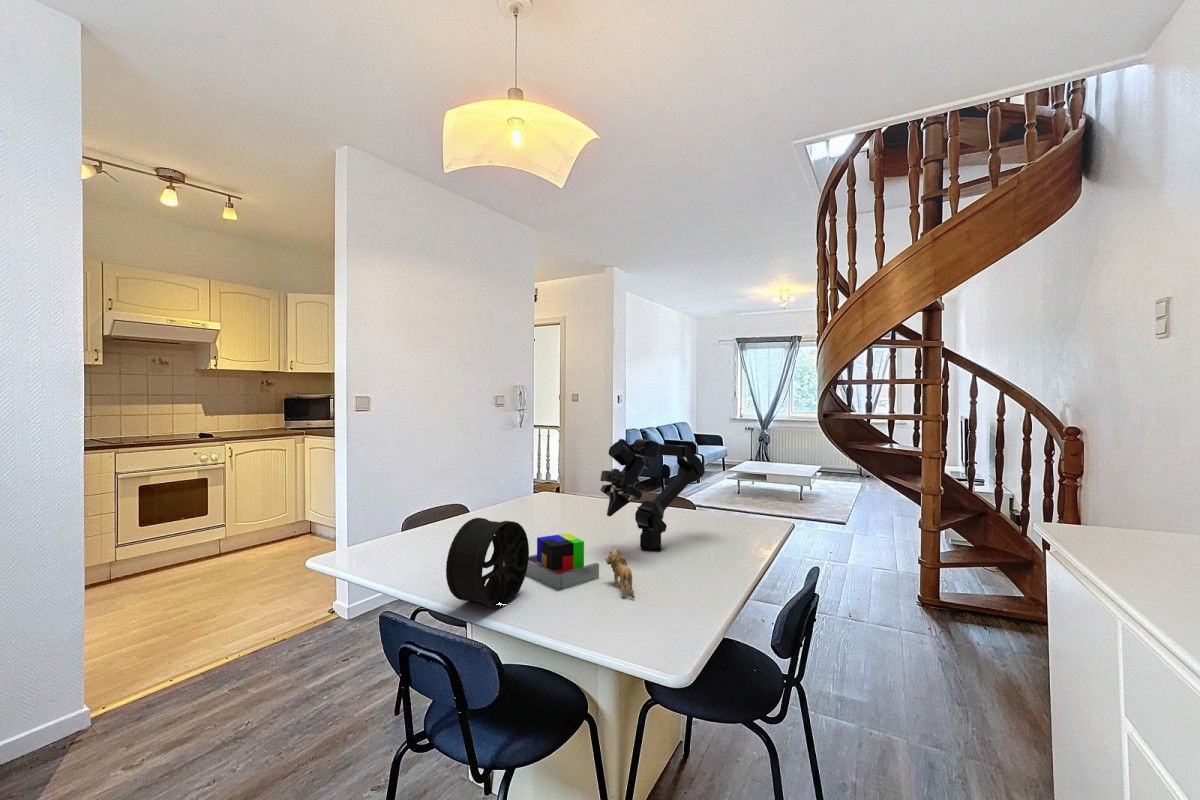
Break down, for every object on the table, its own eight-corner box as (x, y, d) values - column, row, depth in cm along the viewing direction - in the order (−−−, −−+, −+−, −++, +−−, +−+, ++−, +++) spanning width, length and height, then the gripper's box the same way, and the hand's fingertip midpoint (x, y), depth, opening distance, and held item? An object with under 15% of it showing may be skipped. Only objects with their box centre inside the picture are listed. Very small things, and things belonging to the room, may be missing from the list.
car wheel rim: (481, 621, 113) (481, 532, 113) (445, 613, 117) (446, 527, 117) (528, 590, 131) (529, 513, 131) (496, 584, 135) (496, 510, 135)
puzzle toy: (536, 572, 145) (537, 537, 145) (567, 566, 150) (568, 533, 150) (551, 583, 137) (551, 546, 137) (583, 576, 142) (584, 541, 142)
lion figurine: (603, 581, 138) (603, 549, 138) (620, 579, 140) (621, 547, 140) (625, 602, 124) (625, 565, 124) (644, 599, 126) (644, 563, 126)
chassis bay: (558, 561, 154) (558, 548, 154) (598, 578, 141) (598, 563, 141) (519, 572, 145) (519, 558, 145) (558, 590, 131) (558, 575, 131)
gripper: (599, 461, 169) (576, 501, 164) (625, 458, 153) (600, 503, 147) (624, 478, 172) (603, 519, 167) (652, 477, 155) (629, 522, 150)
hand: (608, 515), depth 157 cm, fingers closed
